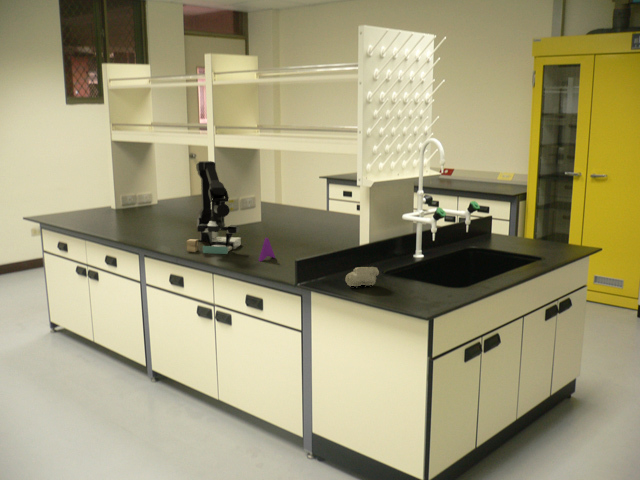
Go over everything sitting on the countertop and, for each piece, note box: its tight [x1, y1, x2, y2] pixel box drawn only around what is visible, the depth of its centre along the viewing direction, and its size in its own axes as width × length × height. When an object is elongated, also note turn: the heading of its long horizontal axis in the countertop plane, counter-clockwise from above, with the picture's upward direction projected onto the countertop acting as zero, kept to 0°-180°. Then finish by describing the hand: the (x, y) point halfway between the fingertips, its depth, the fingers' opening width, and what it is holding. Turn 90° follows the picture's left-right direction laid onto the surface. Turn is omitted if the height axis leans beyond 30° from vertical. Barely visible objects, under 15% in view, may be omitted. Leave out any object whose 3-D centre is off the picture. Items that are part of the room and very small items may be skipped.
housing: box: [212, 236, 242, 250], centre depth 290 cm, size 10×12×4 cm
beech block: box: [186, 238, 199, 253], centre depth 280 cm, size 4×4×5 cm
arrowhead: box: [258, 237, 276, 262], centre depth 264 cm, size 10×2×10 cm
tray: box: [202, 245, 233, 255], centre depth 280 cm, size 10×12×3 cm
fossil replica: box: [345, 266, 380, 287], centre depth 223 cm, size 12×8×10 cm
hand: (218, 246), depth 280 cm, fingers open, 7 cm apart
